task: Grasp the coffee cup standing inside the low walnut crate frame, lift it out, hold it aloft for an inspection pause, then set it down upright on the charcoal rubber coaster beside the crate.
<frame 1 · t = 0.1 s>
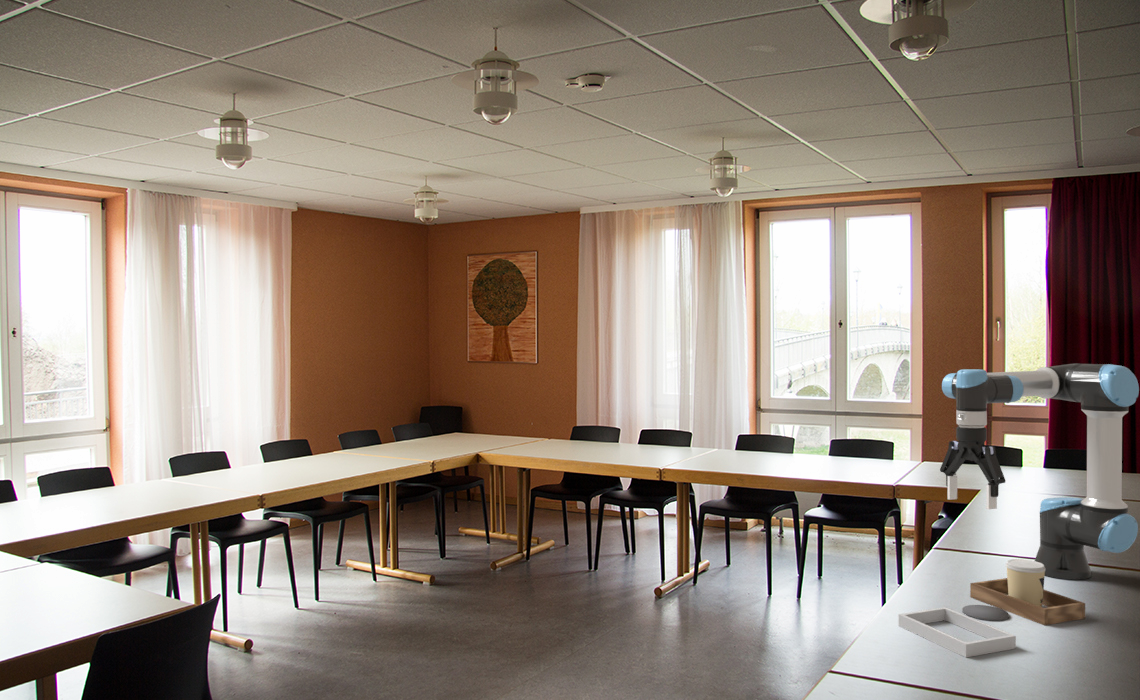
hand: (971, 503, 227), 28 cm above the table, fingers open, 13 cm apart
coffee cup: (1025, 608, 225), resting in crate
coaster: (985, 613, 221), on the table
gray rectangular frame: (954, 636, 205), on the table
crate: (1025, 607, 225), on the table
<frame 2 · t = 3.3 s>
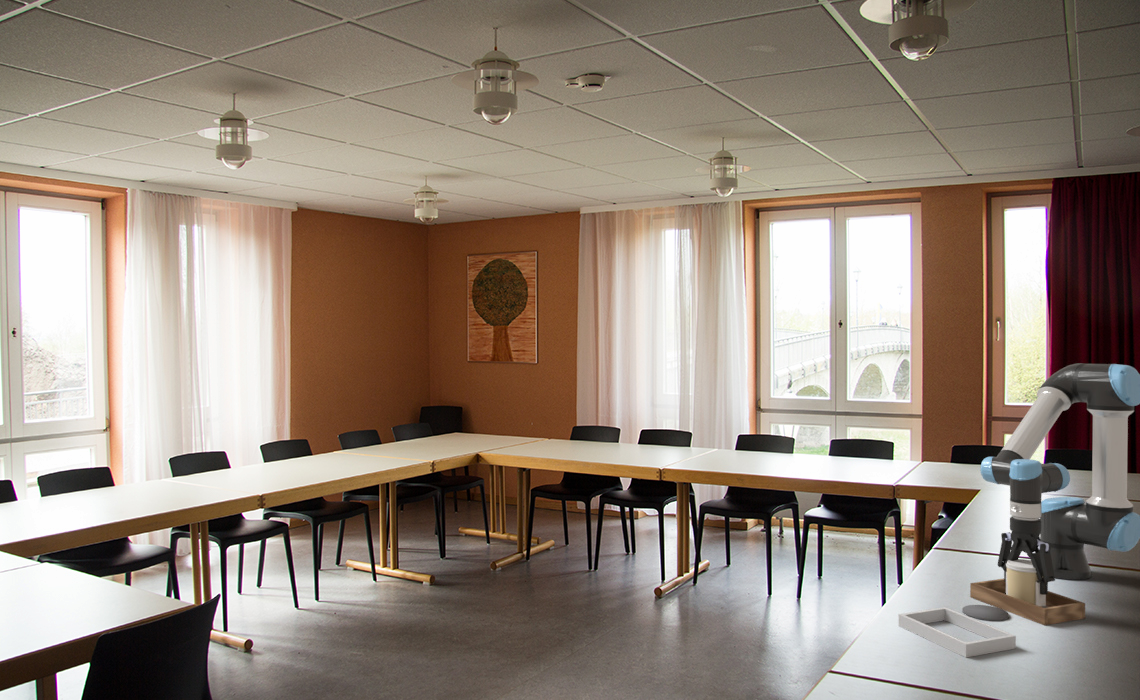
hand: (1025, 600, 225), 2 cm above the table, fingers closed on coffee cup, 9 cm apart
coffee cup: (1025, 608, 225), resting in crate, touching gripper
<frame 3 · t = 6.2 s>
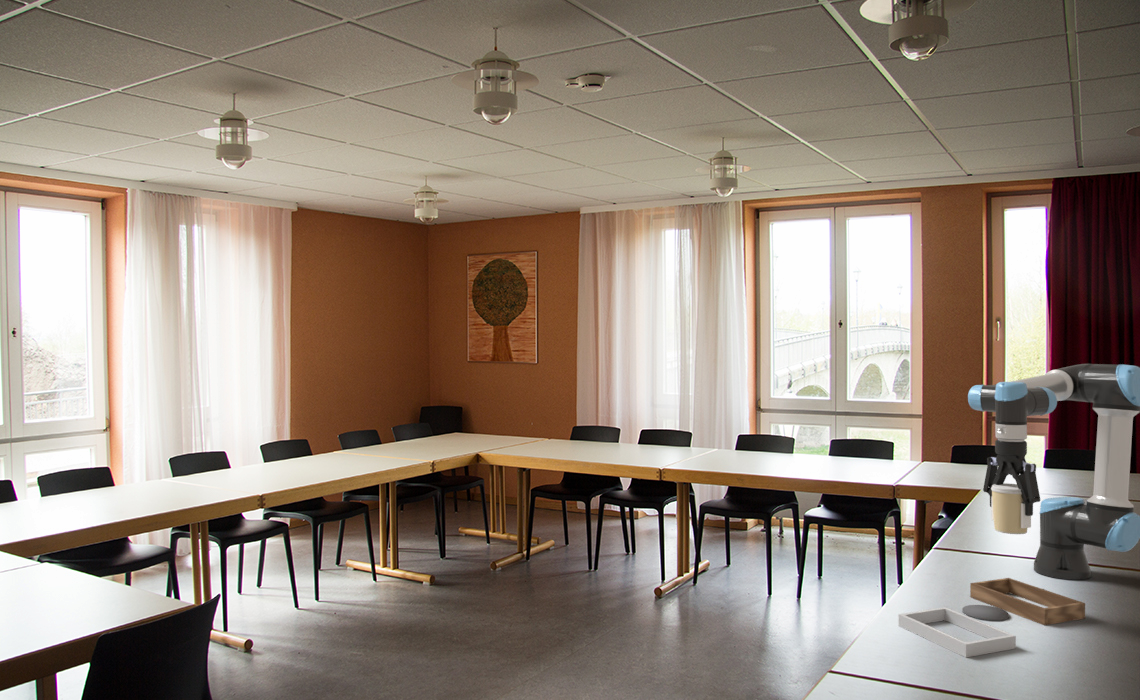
hand: (1010, 523, 223), 23 cm above the table, fingers closed on coffee cup, 9 cm apart
coffee cup: (1010, 531, 223), point 21 cm above the table, touching gripper
when the fingers open (4 cm above the table, at t = 9.3 s): coffee cup drops 2 cm, resting on coaster.
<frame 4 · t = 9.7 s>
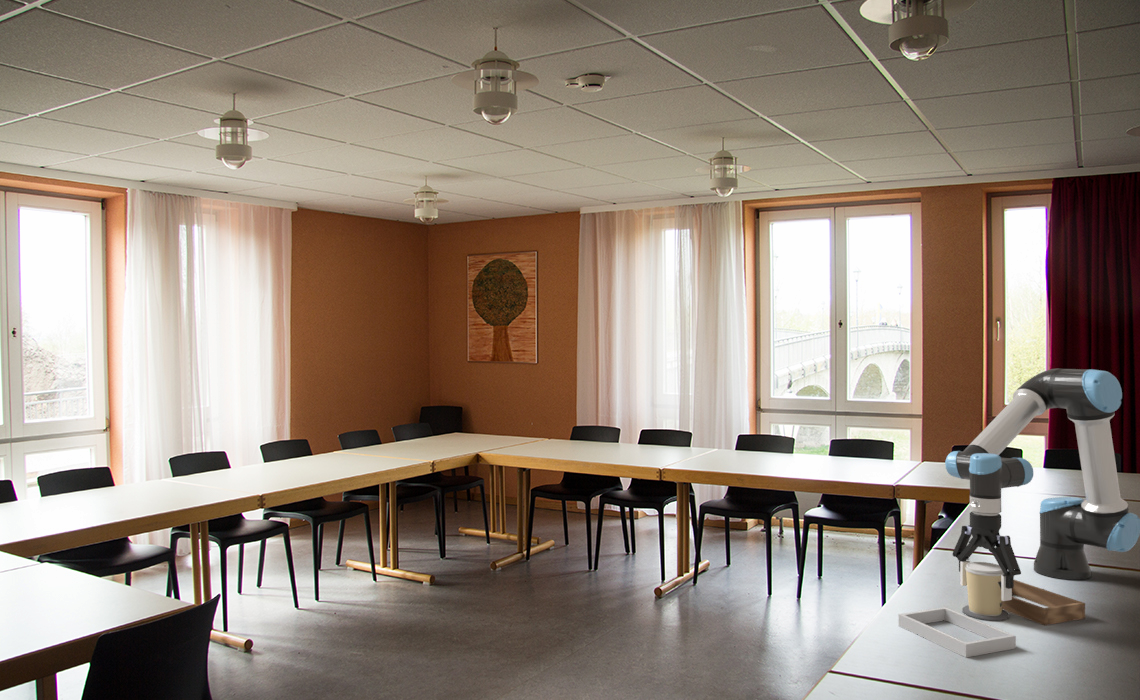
hand: (985, 592, 221), 6 cm above the table, fingers open, 13 cm apart
coffee cup: (985, 612, 221), resting on coaster
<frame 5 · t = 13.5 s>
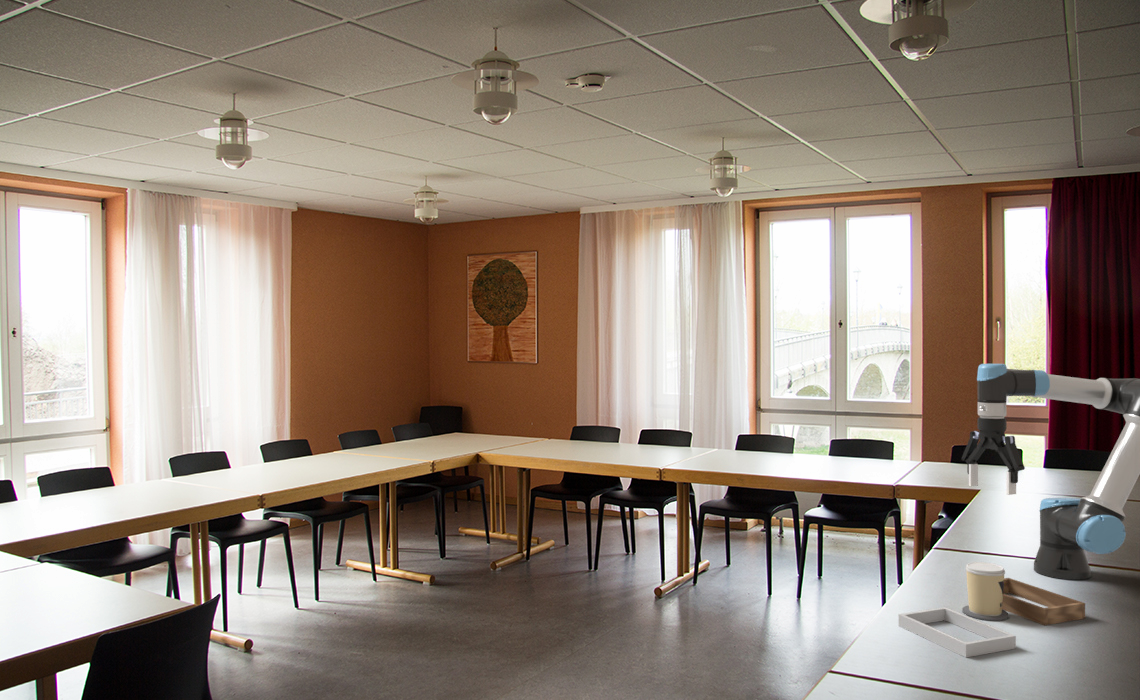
hand: (991, 490, 242), 29 cm above the table, fingers open, 13 cm apart
nothing on the table moved.
at the end: coffee cup 0.1 cm from the coaster (horizontally); coffee cup tilted 0°; coffee cup resting on coaster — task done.
